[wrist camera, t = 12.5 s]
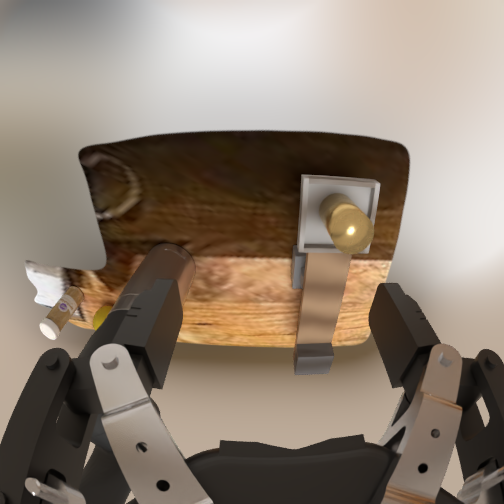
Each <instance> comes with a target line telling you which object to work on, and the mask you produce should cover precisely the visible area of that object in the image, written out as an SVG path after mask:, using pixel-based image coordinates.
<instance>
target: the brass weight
mask: <svg viewBox="0 0 504 504" xmlns="http://www.w3.org/2000/svg"><path fill="white" fill-rule="evenodd" d="M319 216H320V219H321V220H322V222H323V224H324V226H325V228H326V230H327V232H328V234H329V235H330V237H331V239H332V241H333V243H334V245H335V247H336V248H337V249H338V250H339V251H341V252H342V253H345V254H356V253H359V252H361V251H363V250H365V249H366V248H367V247H368V246H369V245H370V243H371V241H372V239H373V236H374V226H373V223H372V221H371V220H370V219H369V218H368V217H367V216H366V215H365V213H364V212H363V211H362V210H361V209H360V208H359V207H358V206H357V205H356V204H355V203H354V202H353V201H352V200H351V199H350V198H349V197H347V196H346V195H344V194H341V193H334V194H331V195H329V196H327V197H326V198H325V199H324V200H323V201H322V202H321V204H320V207H319Z"/></svg>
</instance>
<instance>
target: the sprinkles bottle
mask: <svg viewBox="0 0 504 504" xmlns="http://www.w3.org/2000/svg"><path fill="white" fill-rule="evenodd" d="M83 300H84V296H83V293H82V292H81V290H80V289H79V288H77V287H75V286H70V287H69V289H68V290H67V291H66V293H65V294H64V295H63V296H62V297H61V298H60V300H59V301H58V302H57V303H56V304H55V306H54V307H53V308H52V310H51V311H50V313H49V314H48V315H47V317H46V318H44V319H43V320H42V322H41V323H40V329H41V331H42V332H43V334H44V335H45V336H46V337H48V338H49V339H51V340H55V339H56V338H57V337H58V335H59V334H60V331H61V330H62V328H63V327H64V325H65V324H66V323H67V322H68V320H69V319H70V318H71V316H72V315H73V313H74V312H75V311H76V309H77V307H78V306H79V304H80V303H81V302H82V301H83Z"/></svg>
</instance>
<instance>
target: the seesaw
mask: <svg viewBox="0 0 504 504" xmlns="http://www.w3.org/2000/svg"><path fill="white" fill-rule="evenodd" d="M379 190H380V183H379V182H377V181H376V180H373V179H362V178H350V177H337V176H321V175H301V194H300V211H299V226H298V239H297V248H298V252H305V253H306V262H305V271H304V280H303V289H302V297H301V305H300V312H299V320H298V327H297V334H296V340H295V347H294V353H293V360H294V370H295V375H306V374H307V375H308V374H327V373H329V370H330V367H331V364H332V361H333V358H334V353H333V348H332V344H331V342H332V338H333V334H334V331H335V327H336V323H337V319H338V315H339V311H340V307H341V303H342V299H343V294H344V290H345V285H346V281H347V276H348V271H349V266H350V261H351V256H352V254H345V253H342V252H341V251H339V250H338V249H337V248H336V247H335V245H334V243H333V241H332V239H331V237H330V235H329V234H328V232H327V230H326V228H325V226H324V224H323V222H322V220H321V219H320V216H319V207H320V204H321V202H322V201H323V200H324V199H325V198H326V197H327V196H329V195H331V194H334V193H341V194H344V195H346V196H347V197H349V198H350V199H351V200H352V201H353V202H354V203H355V204H356V205H357V206H358V207H359V208H360V209H361V210H362V211H363V212H364V213H365V215H366V216H367V217H368V218H369V219H370V220H371V221H372V223H373V226H374V222H375V216H376V210H377V204H378V197H379ZM369 248H370V245H369V246H368V247H367V248H366V249H365V250H363V251H361V252H359V253H368V252H369Z"/></svg>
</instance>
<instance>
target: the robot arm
mask: <svg viewBox="0 0 504 504" xmlns="http://www.w3.org/2000/svg"><path fill="white" fill-rule="evenodd" d="M194 276H195V263H194V261H193V259H192V257H191V256H190V254H189V253H188V252H187V251H186V250H184V249H183V248H181V247H180V246H177V245H175V244H170V243H163V244H159V245H157V246H155V247H153V248H152V249H151V250H150V252H149V253H148V254H147V256H146V257H145V259H144V260H143V261H142V263H141V264H140V266H139V267H138V269H137V270H136V272H135V273H134V274H133V276H132V277H131V279H130V280H129V282H128V283H127V285H126V287H125V288H124V290H123V291H122V293H121V294H120V296H119V297H118V299H117V300H116V302H115V304H114V305H113V307H112V309H111V310H110V312H109V313H108V315H107V317H106V318H105V320H104V322H103V323H102V324H101V325H100V326H99V328H98V329H97V330H96V331H95V333H94V334H93V335H92V336H91V338H90V339H89V341H88V342H87V344H86V345H85V347H84V349H83V350H82V352H81V353H80V355H79V357H78V358H73V359H71V358H70V357H69V355H68V353H67V352H66V351H65V350H64V349H61V348H53V349H50V350H48V351H46V352H45V353H44V354H42V356H41V357H40V359H39V360H38V362H37V364H36V366H35V368H34V369H33V371H32V373H31V375H30V377H29V379H28V381H27V383H26V385H25V387H24V389H23V391H22V393H21V396H20V398H19V400H18V402H17V404H16V406H15V409H14V411H13V413H12V416H11V418H10V420H9V423H8V425H7V428H6V431H5V433H4V436H3V439H2V441H1V444H0V504H125V501H126V499H127V497H128V495H129V493H130V491H132V492H133V494H134V496H135V498H134V499H133V500H131V501H130V502H128V503H127V504H504V364H503V362H502V360H501V359H500V357H499V356H498V355H497V354H496V353H495V352H493V351H492V350H489V349H483V350H481V351H480V352H479V354H478V355H477V357H476V358H475V359H471V358H462V357H461V356H460V354H459V352H458V351H457V350H456V349H455V348H453V347H452V346H450V345H447V344H441V342H440V340H439V339H438V337H437V336H436V333H435V332H434V330H433V328H432V327H431V325H430V323H429V322H428V320H426V317H425V315H424V313H422V310H421V309H420V307H419V306H418V304H417V302H416V301H415V300H413V299H412V298H411V297H410V296H409V295H405V293H404V292H403V290H402V289H401V287H400V285H399V284H398V283H380V284H379V285H378V287H377V291H376V294H375V297H374V300H373V303H372V306H371V309H370V312H369V326H370V329H371V332H372V334H373V337H374V339H375V342H376V344H377V347H378V349H379V352H380V355H381V357H382V360H383V363H384V365H385V368H386V371H387V374H388V376H389V379H390V382H391V385H392V388H397V387H402V386H403V388H404V390H405V391H404V392H403V393H402V395H401V397H400V400H399V403H398V405H397V407H396V410H395V412H394V414H393V416H392V419H391V421H390V423H389V425H388V428H387V430H386V432H385V433H384V435H383V436H382V438H381V439H380V440H379V442H378V443H377V444H374V443H368V442H365V440H364V436H363V434H361V435H355V436H348V437H341V438H332V439H328V440H325V441H323V442H320V443H317V444H313V445H310V446H307V447H303V448H300V449H287V448H282V447H277V446H272V445H267V444H263V443H259V442H240V441H239V442H237V441H224V440H221V441H220V447H219V448H216V449H211V450H207V451H203V452H200V453H198V454H195V455H193V456H191V457H189V458H187V459H185V457H184V456H183V454H182V452H181V451H180V449H179V448H178V446H177V445H176V443H175V441H174V440H173V438H172V436H171V435H170V433H169V431H168V430H167V428H166V426H165V424H164V423H163V421H162V419H161V417H160V411H159V408H158V406H157V404H156V403H155V402H154V401H153V399H152V398H150V394H151V391H152V388H157V389H162V388H163V385H164V381H165V378H166V374H167V370H168V367H169V364H170V360H171V357H172V354H173V351H174V347H175V344H176V341H177V338H178V335H179V331H180V328H181V325H182V320H183V310H182V308H183V305H184V303H185V300H186V297H187V294H188V292H189V289H190V287H191V284H192V281H193V278H194ZM481 397H483V399H484V402H485V404H486V407H487V409H488V412H489V416H490V419H489V423H488V425H487V426H486V427H485V426H484V423H483V420H482V417H481V415H480V412H479V409H478V406H477V404H476V402H477V401H478V400H479V399H480V398H481ZM58 416H59V417H58ZM57 418H58V420H57ZM56 421H57V422H56ZM90 441H91V442H92V443H94V444H95V448H94V451H93V453H92V455H91V457H90V459H89V461H88V462H87V464H86V466H85V467H84V464H85V459H86V456H87V451H88V448H89V444H90ZM454 444H456V447H457V452H458V456H459V460H460V464H461V469H462V473H463V479H464V484H463V487H462V489H461V490H460V491H459V492H458V494H457V498H456V497H455V496H453V495H452V494H450V493H449V492H447V491H446V490H444V489H443V488H441V487H440V486H441V483H442V481H443V479H444V476H445V473H446V470H447V467H448V464H449V461H450V458H451V455H452V451H453V448H454ZM83 468H84V469H83Z"/></svg>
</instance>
